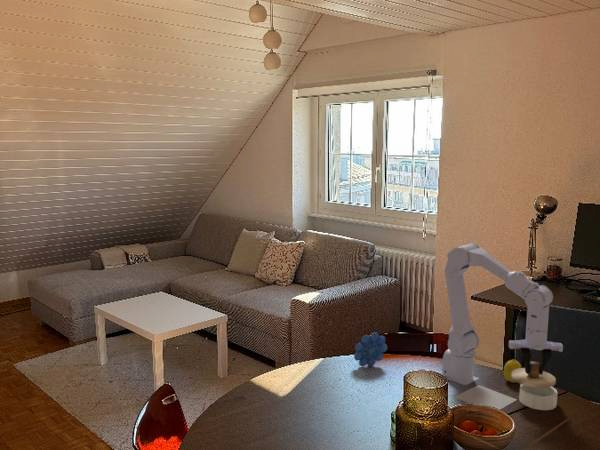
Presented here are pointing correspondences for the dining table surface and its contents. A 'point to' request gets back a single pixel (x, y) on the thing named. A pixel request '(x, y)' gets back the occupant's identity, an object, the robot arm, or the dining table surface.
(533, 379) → the lid
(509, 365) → the lemon
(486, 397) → the mat
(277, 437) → the dining table surface
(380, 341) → the grapes
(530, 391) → the bowl
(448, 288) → the robot arm
